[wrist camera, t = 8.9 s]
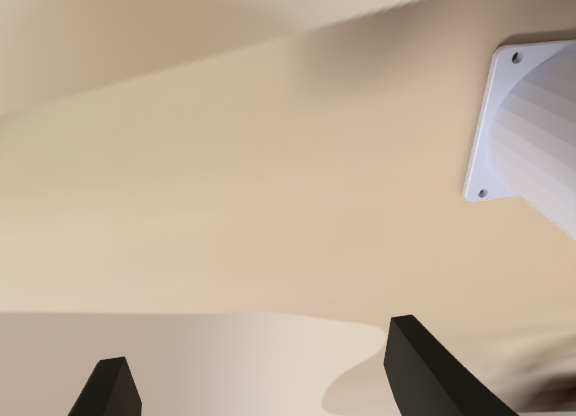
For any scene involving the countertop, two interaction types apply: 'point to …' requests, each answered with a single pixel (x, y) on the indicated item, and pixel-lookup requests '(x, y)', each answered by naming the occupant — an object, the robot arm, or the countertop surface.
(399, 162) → the countertop surface
